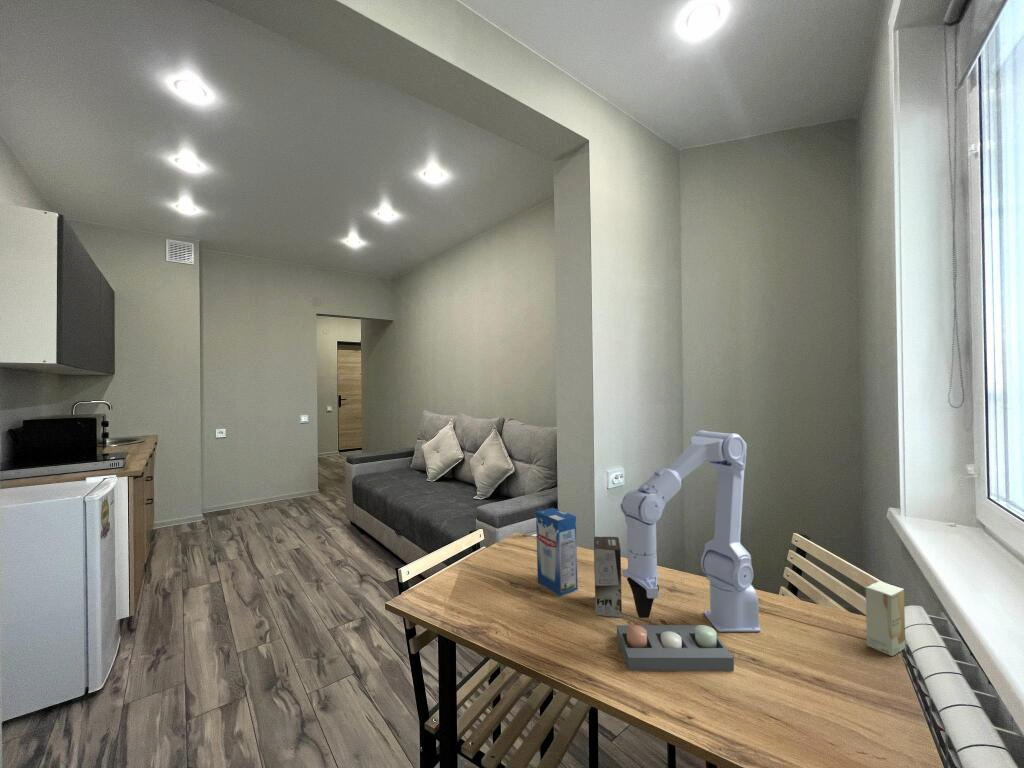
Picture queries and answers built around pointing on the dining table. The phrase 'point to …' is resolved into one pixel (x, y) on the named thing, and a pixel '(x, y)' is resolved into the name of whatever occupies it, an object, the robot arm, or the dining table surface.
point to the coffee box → (607, 576)
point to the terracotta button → (636, 637)
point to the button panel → (674, 652)
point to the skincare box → (885, 618)
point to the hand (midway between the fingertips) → (643, 616)
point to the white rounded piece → (671, 640)
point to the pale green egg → (705, 637)
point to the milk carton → (556, 551)
